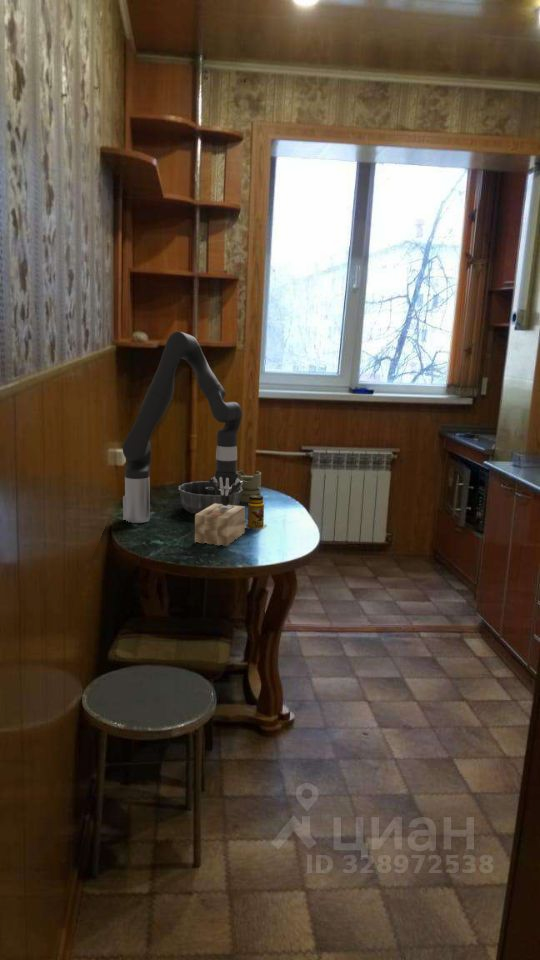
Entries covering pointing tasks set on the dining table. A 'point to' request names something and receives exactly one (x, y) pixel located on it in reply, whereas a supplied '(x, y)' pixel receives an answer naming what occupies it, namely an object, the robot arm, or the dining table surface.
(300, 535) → the dining table surface
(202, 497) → the bundt pan
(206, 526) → the oak block
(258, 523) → the condiment
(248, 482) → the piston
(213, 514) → the peg terracotta
